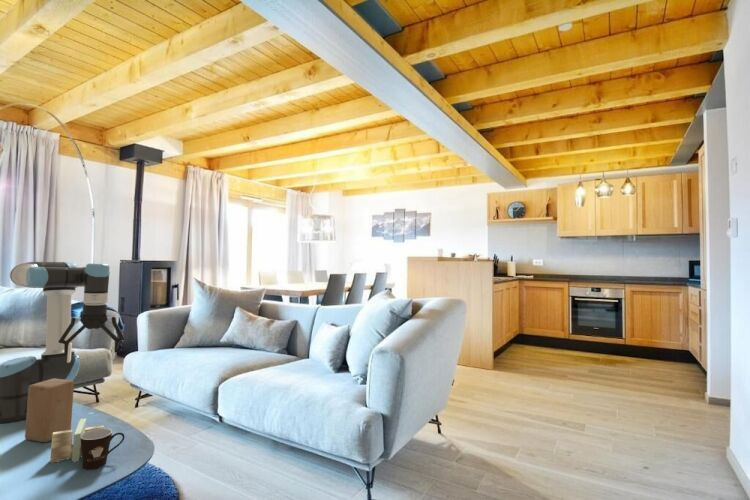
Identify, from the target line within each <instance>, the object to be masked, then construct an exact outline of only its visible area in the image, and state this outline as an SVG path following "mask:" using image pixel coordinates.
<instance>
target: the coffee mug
mask: <svg viewBox="0 0 750 500" xmlns="http://www.w3.org/2000/svg"><path fill="white" fill-rule="evenodd" d="M116 436H122V439H121V440H120V441H119V443H117V444H115V446H114V447H112V448H111V449H110V444H111V442H112V440H113V438H114V437H116ZM125 439H126V438H125V433H122V432H116V433H114V434H113V429H110V428H107V427H106V428H105V427H104V428H101V429H94V430H90V431H87V432H85V433H83V434H82V435H81V436H80V440H81V454H82V457H81V463H82V467H81V468H82V469H83V470H85V471H92V470H97V469H100V468H102V467H104V466H105V465H106V464H107V461H108V457H109V454H110V453H111V452H112V451H114V450H115V449H117V448H118V447H119V446H120V445H121V444H122V443H123V442H124V440H125Z"/></svg>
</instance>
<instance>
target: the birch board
mask: <svg viewBox="0 0 750 500" xmlns="http://www.w3.org/2000/svg"><path fill="white" fill-rule="evenodd" d="M101 428H105V425H104V424H103V425H98V426H89V427H86V429H85V432H87V431H90V430H94V429H101ZM73 430H74V429H71V430H66V431H59V432H53V434H52V440H51V445H50V446H51V447H50V461H49V462H50V463H51V464H55V463H54V462H57V463H60V462H61V461H62V460H61V459H66V460H68V459H67V458H72V454H73V435H74V431H73ZM81 456H82V454H81V444H80V458H82V457H81ZM59 461H60V462H59Z"/></svg>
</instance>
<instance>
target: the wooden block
mask: <svg viewBox="0 0 750 500" xmlns="http://www.w3.org/2000/svg"><path fill="white" fill-rule="evenodd" d="M74 388H75V381H74V380H72V381H71V380H63V379H56V378H53V379H50V380H46V381H43V382H39V383H35V384H32V385H30V386H29V389H28V402H27V416H26V419H25V429H24V430H25V434H24V438H25V440H27V441H33V442H41V443H47V442H50V441H51V442H52V434H53V432H59V431H66V430H72V418H73V405H74V404H73V403H74Z"/></svg>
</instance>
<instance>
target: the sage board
mask: <svg viewBox="0 0 750 500" xmlns="http://www.w3.org/2000/svg"><path fill="white" fill-rule="evenodd" d="M79 419H80V420H79V421H78V423H77V426H76V429H75V432H73V440H72V444H73V454H72V459H71V462H72V461H76V462H79V461H80V458H81V457H80V444H81V440H80V436H81V435H82V434H83V433H85V429H86V428H87V418H79Z"/></svg>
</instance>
